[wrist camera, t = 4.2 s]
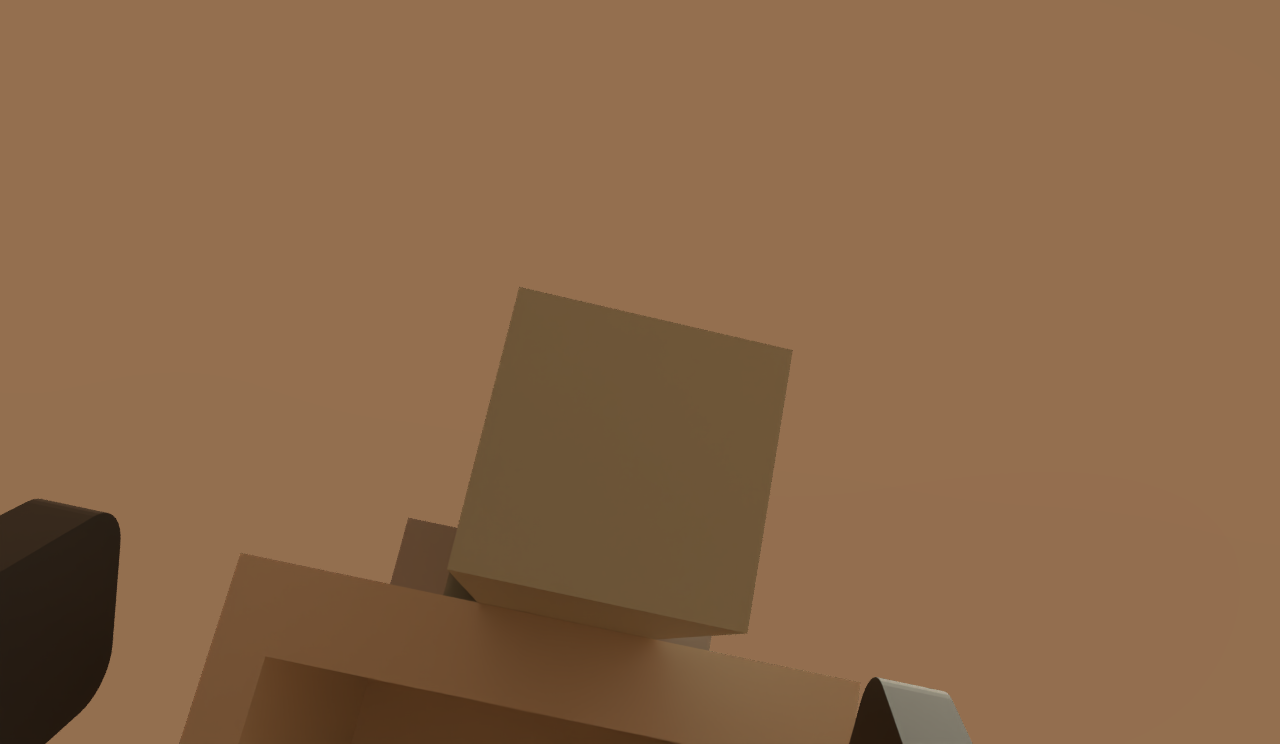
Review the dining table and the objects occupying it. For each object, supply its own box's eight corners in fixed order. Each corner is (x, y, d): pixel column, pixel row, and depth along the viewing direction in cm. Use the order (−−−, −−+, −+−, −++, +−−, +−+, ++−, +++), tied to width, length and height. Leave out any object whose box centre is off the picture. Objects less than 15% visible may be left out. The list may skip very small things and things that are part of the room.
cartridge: (746, 633, 13) (831, 111, 15) (447, 569, 12) (580, 50, 15) (610, 642, 32) (656, 413, 34) (491, 617, 31) (546, 388, 34)
